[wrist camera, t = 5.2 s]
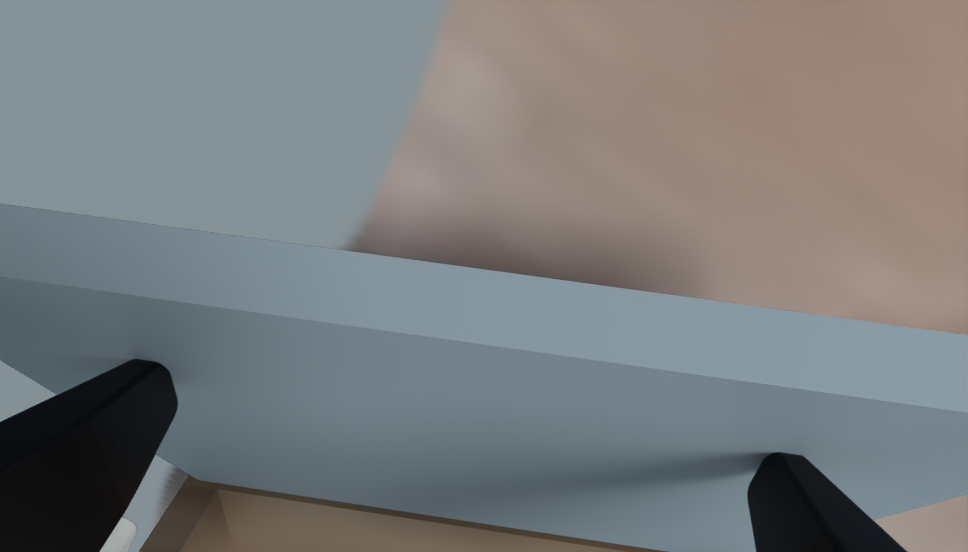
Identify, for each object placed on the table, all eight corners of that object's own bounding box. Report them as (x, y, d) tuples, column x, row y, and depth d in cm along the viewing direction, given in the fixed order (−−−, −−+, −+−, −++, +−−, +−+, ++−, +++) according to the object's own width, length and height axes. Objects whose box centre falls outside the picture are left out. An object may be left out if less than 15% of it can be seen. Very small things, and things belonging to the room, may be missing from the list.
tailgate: (725, 560, 15) (1165, 440, 6) (198, 480, 15) (-180, 250, 6) (719, 510, 15) (1101, 332, 6) (216, 435, 16) (-97, 171, 7)
